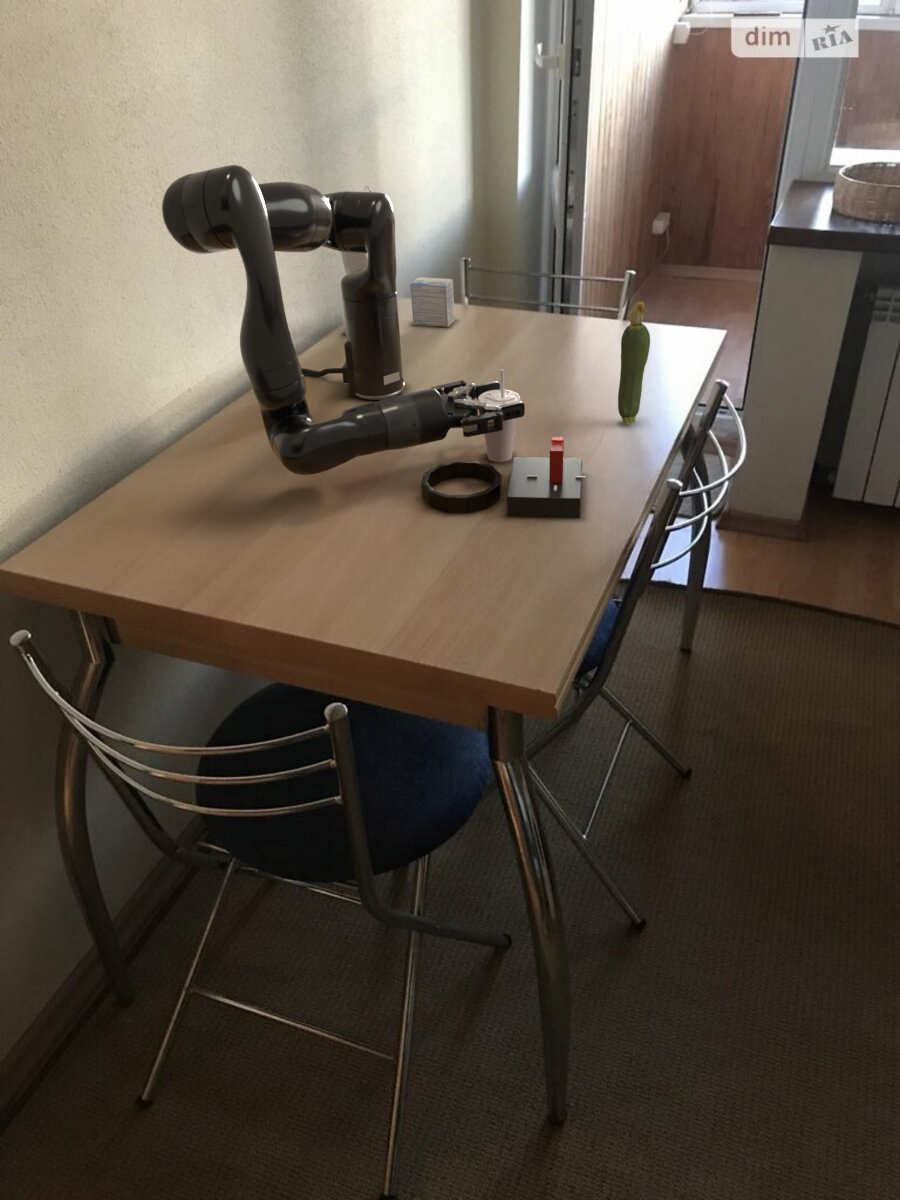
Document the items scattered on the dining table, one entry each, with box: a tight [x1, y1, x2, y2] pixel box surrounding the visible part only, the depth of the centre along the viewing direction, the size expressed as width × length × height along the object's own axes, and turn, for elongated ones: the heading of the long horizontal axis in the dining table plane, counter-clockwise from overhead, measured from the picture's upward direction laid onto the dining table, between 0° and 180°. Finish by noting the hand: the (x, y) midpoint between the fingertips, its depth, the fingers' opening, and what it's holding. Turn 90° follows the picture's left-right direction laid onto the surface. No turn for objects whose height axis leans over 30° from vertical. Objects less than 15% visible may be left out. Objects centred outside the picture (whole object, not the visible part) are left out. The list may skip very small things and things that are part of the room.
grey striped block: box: [409, 277, 456, 328], centre depth 195 cm, size 8×4×9 cm, turn 71°
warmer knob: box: [549, 436, 565, 483], centre depth 132 cm, size 4×2×5 cm, turn 172°
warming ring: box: [420, 459, 503, 514], centre depth 137 cm, size 11×11×2 cm
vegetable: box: [617, 300, 651, 426], centre depth 149 cm, size 4×4×20 cm
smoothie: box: [477, 368, 521, 463], centre depth 142 cm, size 6×6×14 cm
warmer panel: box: [506, 456, 587, 518], centre depth 135 cm, size 11×12×3 cm
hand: (510, 397), depth 142 cm, fingers open, 8 cm apart
